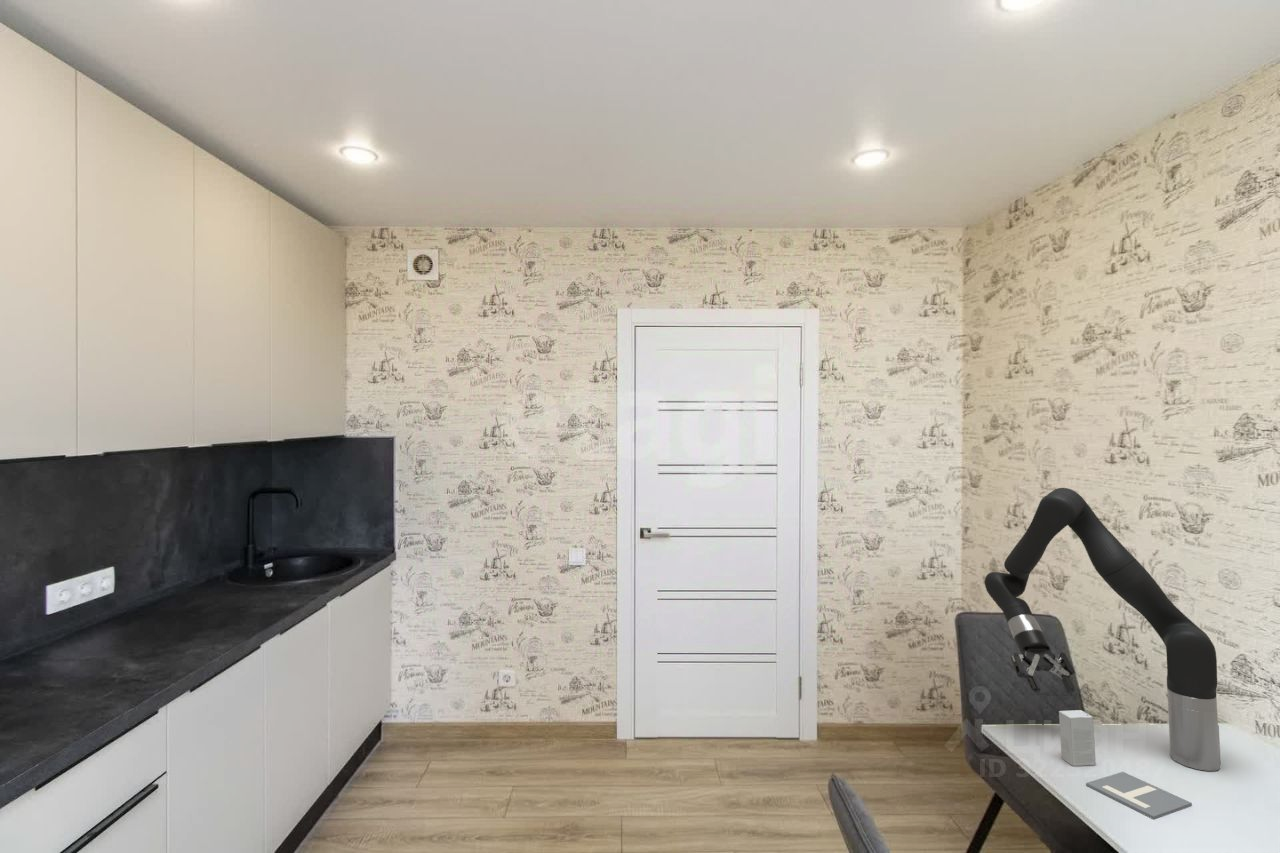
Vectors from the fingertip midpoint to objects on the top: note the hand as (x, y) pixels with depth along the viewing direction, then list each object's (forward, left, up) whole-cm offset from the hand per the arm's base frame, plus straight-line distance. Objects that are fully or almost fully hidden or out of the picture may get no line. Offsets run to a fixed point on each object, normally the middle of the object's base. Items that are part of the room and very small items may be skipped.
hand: (1054, 691), depth 163 cm
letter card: (+6, +23, -14) cm, 27 cm away
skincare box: (+3, +8, -14) cm, 17 cm away
